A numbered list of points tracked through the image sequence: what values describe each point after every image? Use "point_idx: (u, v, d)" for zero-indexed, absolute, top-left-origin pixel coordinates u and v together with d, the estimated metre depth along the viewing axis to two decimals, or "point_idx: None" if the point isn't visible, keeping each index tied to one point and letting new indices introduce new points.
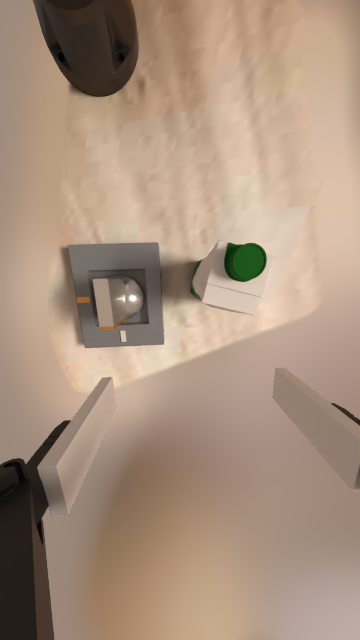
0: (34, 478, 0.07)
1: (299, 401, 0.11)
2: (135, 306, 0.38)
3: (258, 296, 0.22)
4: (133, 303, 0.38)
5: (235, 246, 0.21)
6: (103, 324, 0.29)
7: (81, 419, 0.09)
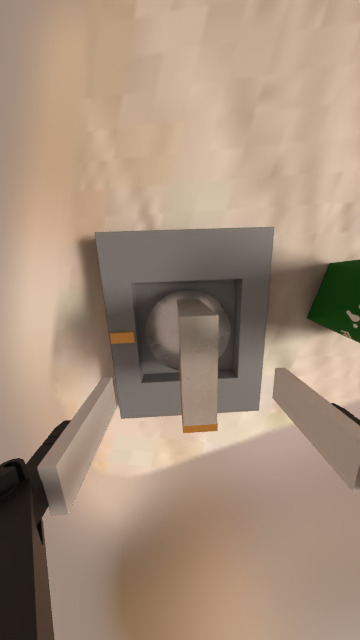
0: (34, 478, 0.07)
1: (299, 400, 0.11)
2: None
3: None
4: None
5: None
6: (193, 420, 0.12)
7: (81, 419, 0.09)
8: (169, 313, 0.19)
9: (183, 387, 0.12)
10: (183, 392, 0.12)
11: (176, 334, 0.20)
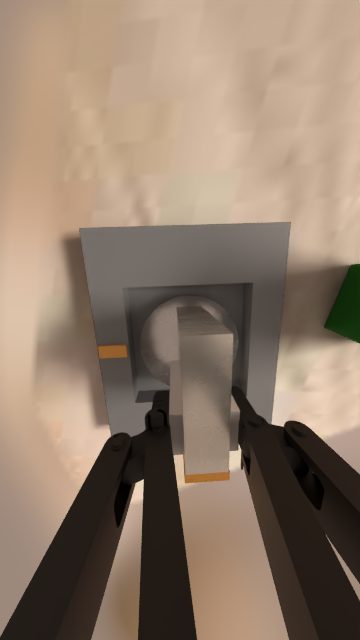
0: None
1: None
2: None
3: None
4: None
5: None
6: (198, 468, 0.09)
7: (177, 387, 0.12)
8: (167, 322, 0.17)
9: (185, 427, 0.09)
10: (185, 433, 0.09)
11: (176, 347, 0.17)
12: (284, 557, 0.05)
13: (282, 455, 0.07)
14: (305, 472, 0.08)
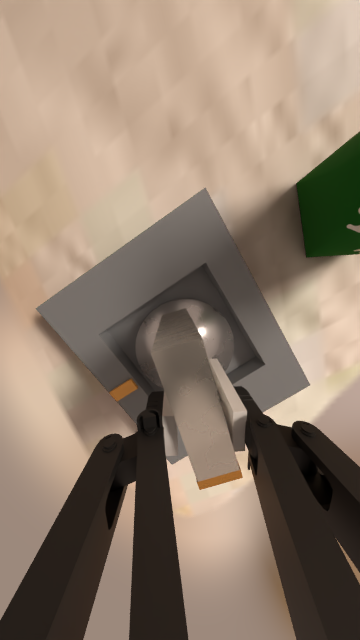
0: None
1: (216, 384, 0.13)
2: (220, 355, 0.18)
3: None
4: (215, 350, 0.17)
5: None
6: (208, 472, 0.09)
7: None
8: None
9: (183, 436, 0.09)
10: (185, 442, 0.09)
11: None
12: (292, 557, 0.05)
13: (290, 456, 0.07)
14: (313, 473, 0.08)
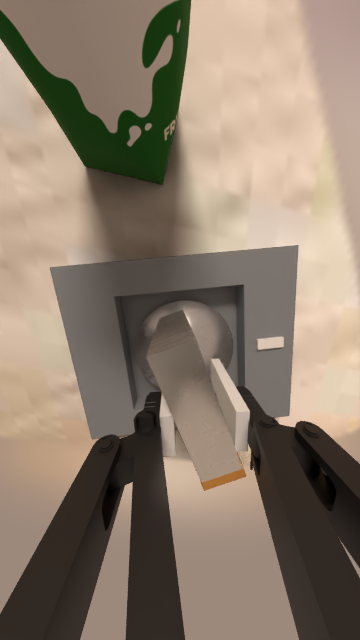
0: None
1: (218, 384, 0.13)
2: (220, 355, 0.18)
3: None
4: (215, 350, 0.18)
5: None
6: (211, 473, 0.09)
7: None
8: None
9: (184, 438, 0.09)
10: (186, 444, 0.09)
11: None
12: (295, 557, 0.05)
13: (294, 457, 0.07)
14: (317, 473, 0.08)
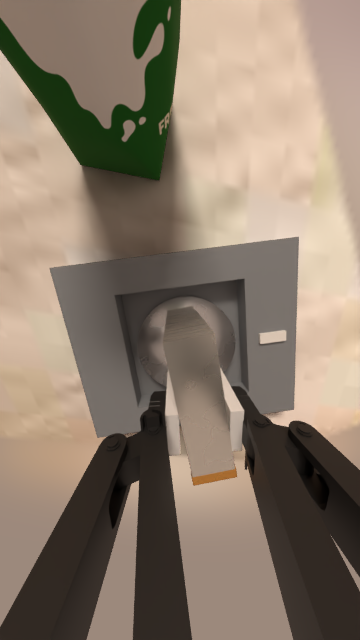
0: None
1: None
2: (220, 356, 0.18)
3: None
4: None
5: None
6: (204, 469, 0.09)
7: None
8: (161, 327, 0.17)
9: (184, 430, 0.09)
10: (185, 436, 0.09)
11: None
12: (288, 557, 0.05)
13: (287, 455, 0.07)
14: (310, 472, 0.08)
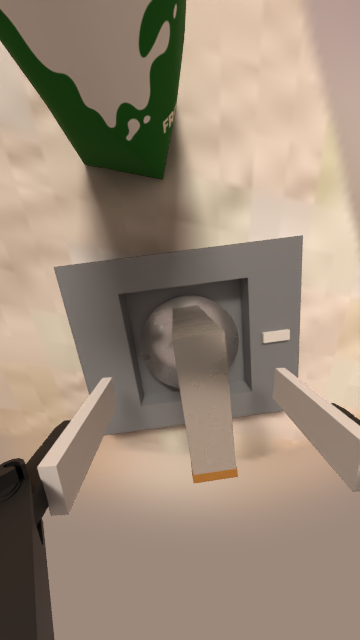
0: (34, 478, 0.07)
1: (299, 400, 0.11)
2: None
3: None
4: None
5: None
6: (205, 467, 0.09)
7: (81, 419, 0.09)
8: (166, 325, 0.17)
9: (187, 428, 0.09)
10: (188, 434, 0.09)
11: None
12: None
13: None
14: None
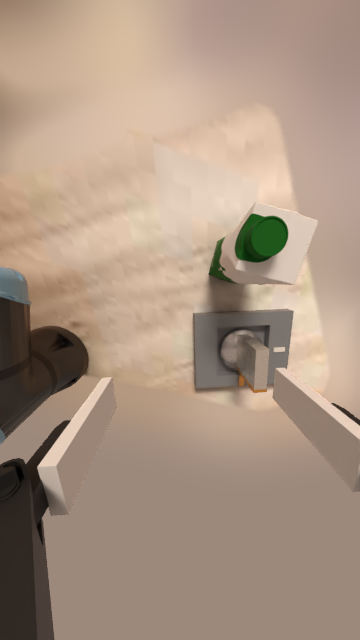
0: (34, 478, 0.07)
1: (299, 400, 0.11)
2: None
3: (297, 218, 0.19)
4: None
5: (243, 250, 0.20)
6: (257, 387, 0.32)
7: (81, 419, 0.09)
8: (233, 341, 0.39)
9: (255, 374, 0.31)
10: (255, 376, 0.31)
11: (236, 351, 0.40)
12: None
13: None
14: None
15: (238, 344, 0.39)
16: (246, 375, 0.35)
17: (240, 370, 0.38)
